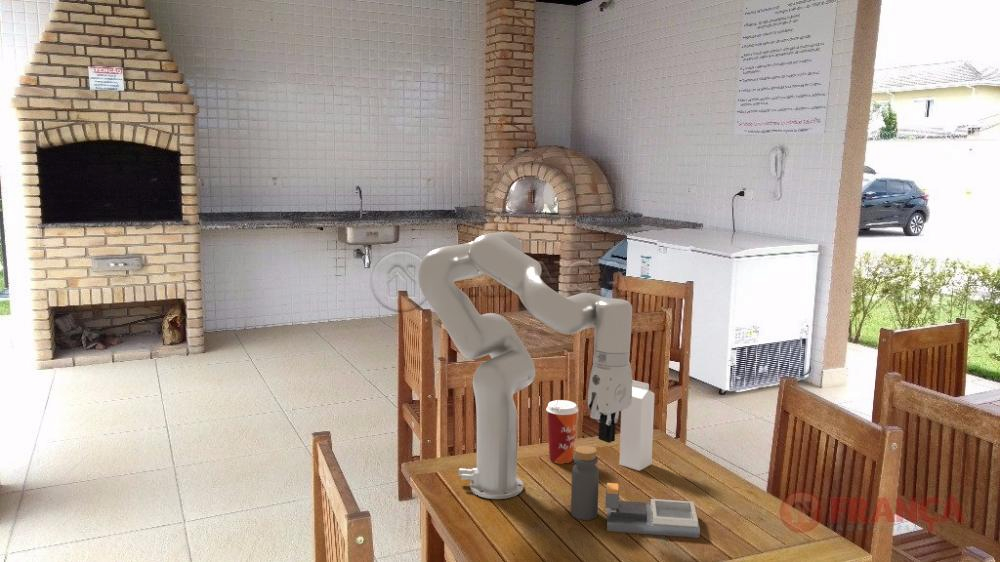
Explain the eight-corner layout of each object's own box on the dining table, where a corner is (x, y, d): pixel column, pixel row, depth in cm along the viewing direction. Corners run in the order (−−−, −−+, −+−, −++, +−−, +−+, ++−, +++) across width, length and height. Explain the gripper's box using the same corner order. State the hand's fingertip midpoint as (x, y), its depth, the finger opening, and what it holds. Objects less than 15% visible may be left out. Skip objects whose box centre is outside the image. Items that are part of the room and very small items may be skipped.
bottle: (596, 521, 166) (598, 455, 163) (569, 518, 167) (571, 453, 165) (598, 509, 171) (600, 445, 169) (572, 507, 173) (574, 443, 170)
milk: (639, 471, 193) (642, 386, 189) (618, 464, 197) (621, 381, 193) (652, 464, 197) (655, 381, 193) (631, 457, 201) (634, 376, 197)
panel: (606, 530, 162) (607, 515, 161) (607, 509, 171) (607, 494, 171) (699, 537, 159) (700, 522, 158) (694, 515, 169) (695, 500, 168)
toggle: (605, 507, 164) (606, 489, 164) (605, 500, 168) (606, 482, 167) (618, 508, 164) (619, 490, 163) (618, 501, 167) (619, 483, 167)
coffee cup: (568, 468, 194) (569, 411, 191) (539, 461, 198) (540, 405, 196) (582, 457, 201) (584, 402, 198) (554, 451, 205) (555, 397, 203)
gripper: (603, 367, 154) (598, 454, 157) (646, 355, 164) (641, 436, 167) (574, 359, 159) (570, 443, 162) (618, 348, 170) (613, 427, 173)
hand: (606, 440), depth 165 cm, fingers closed
